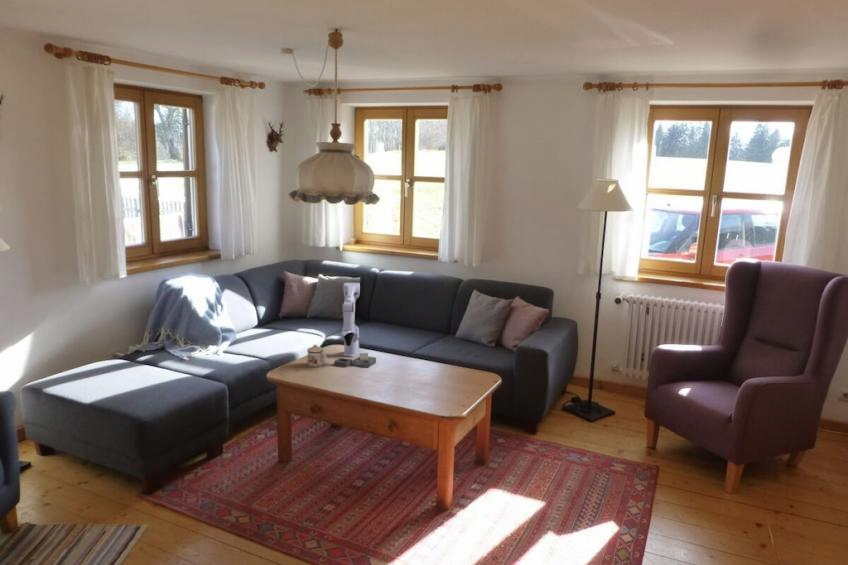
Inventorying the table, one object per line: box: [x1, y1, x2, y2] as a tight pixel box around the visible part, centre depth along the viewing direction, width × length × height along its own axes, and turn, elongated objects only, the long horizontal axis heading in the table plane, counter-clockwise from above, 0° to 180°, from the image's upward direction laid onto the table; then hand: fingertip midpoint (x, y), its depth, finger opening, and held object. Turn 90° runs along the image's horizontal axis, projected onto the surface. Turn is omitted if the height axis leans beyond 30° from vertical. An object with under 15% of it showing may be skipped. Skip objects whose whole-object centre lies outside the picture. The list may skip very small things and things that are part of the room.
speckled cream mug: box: [307, 344, 327, 368], centre depth 351 cm, size 12×9×12 cm
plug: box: [359, 351, 369, 361], centre depth 356 cm, size 3×4×7 cm, turn 92°
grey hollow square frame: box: [333, 357, 354, 368], centre depth 354 cm, size 7×8×2 cm
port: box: [352, 355, 377, 369], centre depth 356 cm, size 10×10×3 cm
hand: (348, 345), depth 356 cm, fingers closed
